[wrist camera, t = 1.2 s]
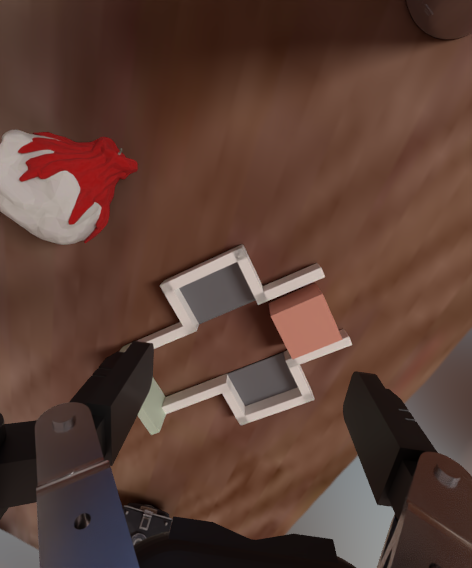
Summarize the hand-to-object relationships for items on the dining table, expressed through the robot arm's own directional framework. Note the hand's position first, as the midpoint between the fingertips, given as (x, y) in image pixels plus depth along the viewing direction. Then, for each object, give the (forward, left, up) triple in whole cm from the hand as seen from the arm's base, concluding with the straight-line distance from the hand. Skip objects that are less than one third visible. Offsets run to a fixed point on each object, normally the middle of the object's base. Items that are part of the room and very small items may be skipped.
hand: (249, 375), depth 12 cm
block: (-3, +10, -24) cm, 26 cm away
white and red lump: (+13, -14, -24) cm, 31 cm away
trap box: (+6, +10, -23) cm, 26 cm away
